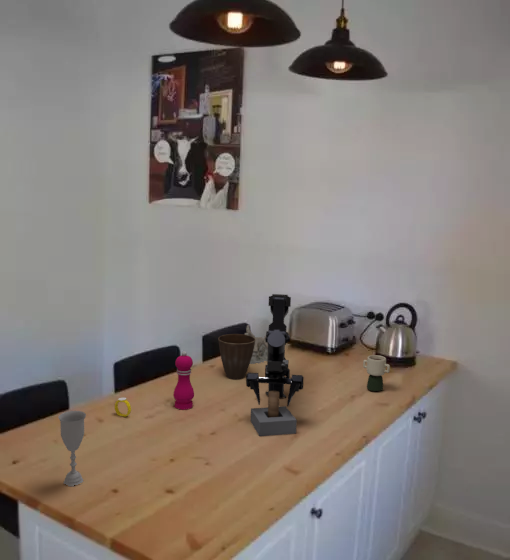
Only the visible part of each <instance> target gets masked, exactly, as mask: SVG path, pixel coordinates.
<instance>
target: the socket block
mask: <svg viewBox="0 0 510 560" xmlns="http://www.w3.org/2000/svg"><path fill="white" fill-rule="evenodd" d="M297 422H298V420H297V419H296V417H295V416H294V415H293V414H292V412H291V411H290V410H289V409H288V406H287V405H284V406H283V405H282V406H279V417H271V418H268V406H267V407H254V408H253V407H252V408H250V423H251V424H252V426H253V428H254V430H255V431H256V433H257V435H258V436H259V437H266V436H278V435H294V434H297Z"/></svg>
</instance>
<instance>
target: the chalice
mask: <svg viewBox="0 0 510 560" xmlns="http://www.w3.org/2000/svg"><path fill="white" fill-rule="evenodd" d="M86 416H87V414H86V413H85V412H84V411H80V410H70V411H65V412H63V413H60V414H59V415H58V420H59V423H60V437H61V440H62V442H63V444H64V446H65V448H66V450H67V451H69V452H70V453H71V454H70V456H69V459H70V460H71V462H70V463H69V466H70V467H71V470H70V471H69V472H67V474H65V478H64V481H63V484H66V485H68V486H67V487H75V486H74V485H78V484H80V483H82V482H83V483H84V481H83V480H84V478H83V477H82V474H81V472H80V471H78V470H76V466H77V462H76V458H77V455H76V451H77V450H79V448H80V446H81V443H82V442H83V438H84V435H85V419H86ZM83 483H82V484H83ZM66 485H65V486H66ZM80 485H81V484H80ZM78 486H79V485H78Z"/></svg>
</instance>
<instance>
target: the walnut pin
mask: <svg viewBox="0 0 510 560" xmlns="http://www.w3.org/2000/svg"><path fill="white" fill-rule="evenodd" d="M267 397H268V399H267V407H268V418H271V417H279V407H280V398H279V392H278V391H269V394H268V396H267Z"/></svg>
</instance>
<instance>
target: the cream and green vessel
mask: <svg viewBox="0 0 510 560" xmlns="http://www.w3.org/2000/svg"><path fill="white" fill-rule="evenodd" d="M362 367H363V368H364V369H366V373H367V374H368V378H367V383H366V389H368V390H369V391H372V392H376V391H377V392H379V391H383V390H384V381H383V380H384V379H383V376H384V375H385V374H387V373H388V374H389V373H390V371H391V365H390V364H388V363H387V358H386V357H385V356H383V355H375V354H373V355H368V356H367V359H363V364H362ZM386 367H387V368H386Z"/></svg>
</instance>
